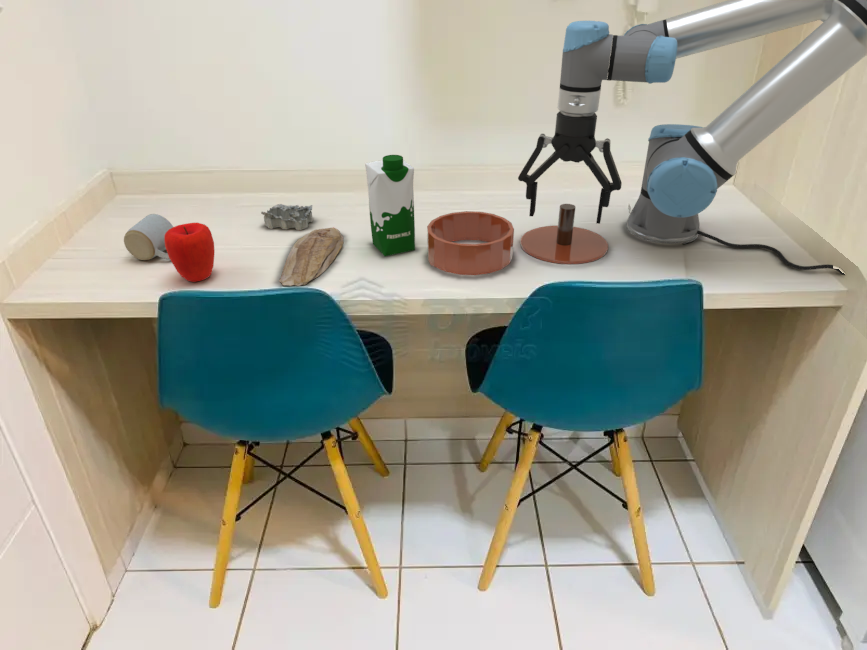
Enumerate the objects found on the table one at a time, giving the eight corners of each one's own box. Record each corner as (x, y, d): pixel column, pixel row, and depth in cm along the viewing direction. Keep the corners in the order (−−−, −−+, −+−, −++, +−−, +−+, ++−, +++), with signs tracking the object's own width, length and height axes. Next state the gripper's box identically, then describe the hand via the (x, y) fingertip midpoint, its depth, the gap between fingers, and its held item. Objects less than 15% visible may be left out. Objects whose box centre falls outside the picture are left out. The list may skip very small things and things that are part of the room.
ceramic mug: (125, 260, 131) (116, 226, 127) (149, 244, 138) (141, 211, 134) (171, 266, 129) (162, 231, 125) (193, 249, 136) (185, 216, 132)
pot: (518, 245, 135) (520, 215, 131) (502, 282, 121) (504, 250, 117) (441, 236, 139) (441, 207, 136) (417, 271, 125) (416, 240, 121)
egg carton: (261, 228, 145) (258, 212, 142) (274, 216, 151) (271, 200, 149) (305, 231, 143) (302, 214, 140) (316, 219, 149) (314, 202, 147)
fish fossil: (326, 286, 120) (325, 280, 120) (274, 289, 121) (273, 284, 120) (345, 229, 142) (344, 224, 141) (300, 233, 143) (299, 228, 142)
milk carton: (382, 259, 130) (376, 164, 119) (367, 243, 137) (359, 151, 126) (420, 251, 133) (418, 157, 122) (404, 235, 140) (400, 145, 129)
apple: (199, 263, 130) (188, 214, 124) (230, 272, 126) (219, 222, 120) (164, 281, 123) (150, 229, 117) (195, 291, 119) (182, 239, 114)
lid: (609, 235, 139) (615, 195, 134) (604, 271, 124) (610, 228, 119) (527, 226, 143) (530, 187, 138) (513, 261, 128) (515, 218, 124)
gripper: (508, 112, 119) (502, 217, 130) (645, 121, 113) (626, 231, 124) (515, 103, 125) (508, 204, 136) (646, 111, 119) (627, 217, 130)
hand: (564, 217), depth 130 cm, fingers open, 13 cm apart
